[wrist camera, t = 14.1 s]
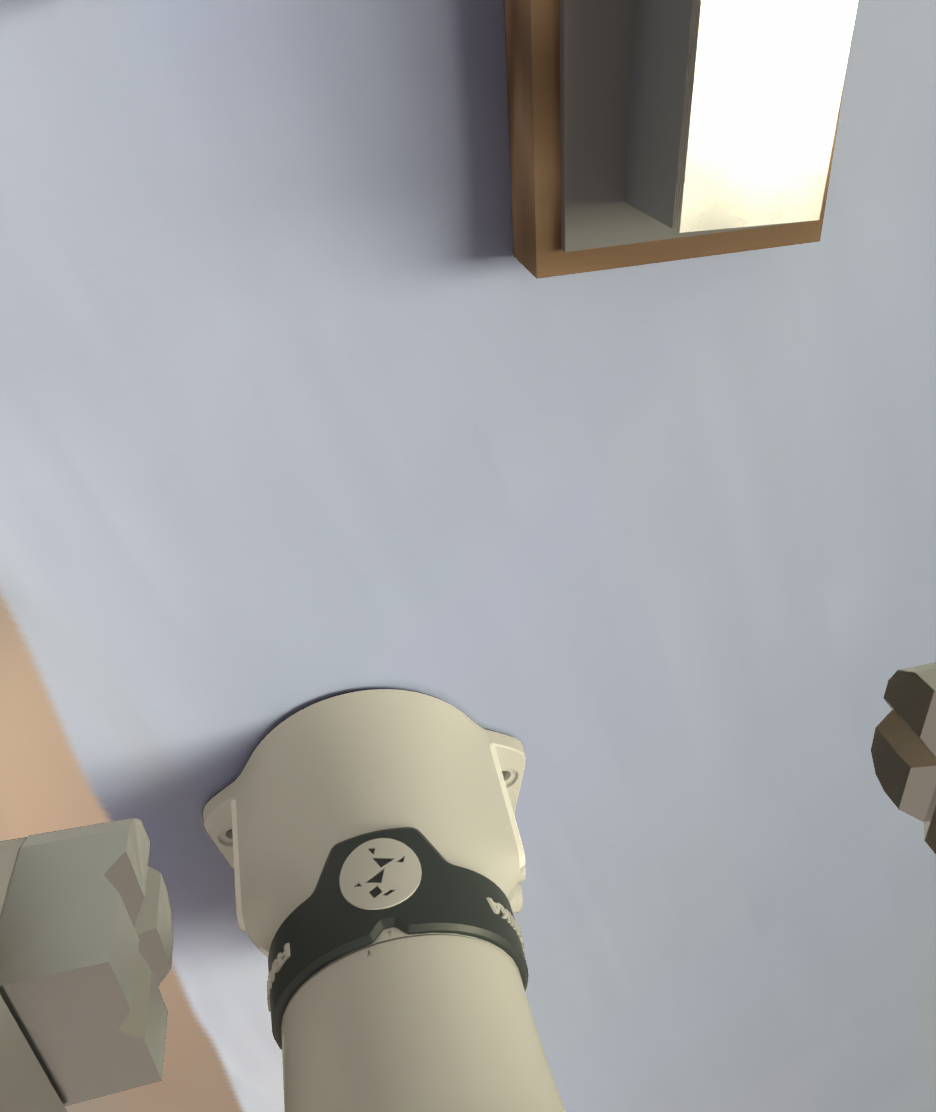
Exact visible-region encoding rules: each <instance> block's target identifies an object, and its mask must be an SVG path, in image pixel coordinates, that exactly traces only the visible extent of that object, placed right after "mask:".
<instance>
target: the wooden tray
mask: <svg viewBox="0 0 936 1112" xmlns="http://www.w3.org/2000/svg"><path fill="white" fill-rule="evenodd" d="M636 6H637V0H505V27H506V55H507V83H508V111H509V139H510V167H511V195H512V222H513V250H514V257H515V258H516V259H517V260H518V261H519V262H520V263H521V264H522V265H523V266H525V267H526V268H527V269H528V270H529V271H530V272H531V273H532V274H533V275H534V276H535V277H536V278H544V277H552V276H559V275H567V274H575V273H582V272H590V271H597V270H605V269H613V268H620V267H628V266H635V265H643V264H651V263H658V262H666V261H673V260H681V259H689V258H696V257H704V256H711V255H719V254H726V253H734V252H742V251H749V250H757V249H764V248H772V247H780V246H787V245H795V244H802V243H810V242H818V241H820V237H821V230H822V224H823V217H824V211H825V204H826V198H827V191H828V184H829V178H830V171H831V165H832V158H833V151H834V145H835V138H836V132H837V125H838V119H839V112H840V105H841V100H840V105H839V111H838V116H837V122H836V128H835V133H834V139H833V145H832V150H831V156H830V162H829V167H828V173H827V178H826V184H825V190H824V195H823V201H822V207H821V212H820V218H819V220H815V221H804V222H793V223H782V224H771V225H760V226H749V227H738V228H727V229H716V230H706V231H695V232H684V233H679V232H677V231H675V230H674V229H672V228H670V227H668V226H666V225H665V224H663V223H661V222H659V221H657V220H656V219H654V218H652V217H650V216H648V215H647V214H645V213H643V212H641V211H639V210H638V209H636V208H634V207H632V206H631V205H629V204H627V203H625V188H626V171H627V155H628V138H629V122H630V105H631V89H632V72H633V56H634V39H635V23H636ZM845 73H846V71H845ZM844 79H845V77H844ZM843 86H844V83H843ZM842 92H843V88H842ZM841 99H842V94H841Z"/></svg>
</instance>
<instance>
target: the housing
mask: <svg viewBox="0 0 936 1112" xmlns="http://www.w3.org/2000/svg"><path fill="white" fill-rule="evenodd" d="M857 4H858V0H637V6H636V23H635V39H634V56H633V72H632V89H631V105H630V122H629V138H628V155H627V171H626V188H625V203H627V204H629V205H631V206H632V207H634V208H636V209H638V210H639V211H641V212H643V213H645V214H647V215H648V216H650V217H652V218H654V219H656V220H657V221H659V222H661V223H663V224H665V225H666V226H668V227H670V228H672V229H674V230H675V231H677V232H679V233H684V232H695V231H706V230H716V229H727V228H738V227H749V226H760V225H771V224H782V223H793V222H804V221H815V220H819V218H820V212H821V207H822V201H823V195H824V190H825V184H826V178H827V173H828V167H829V162H830V156H831V150H832V145H833V139H834V133H835V128H836V122H837V116H838V111H839V105H840V100H841V94H842V88H843V83H844V77H845V71H846V66H847V60H848V55H849V49H850V43H851V38H852V32H853V26H854V21H855V15H856V9H857Z"/></svg>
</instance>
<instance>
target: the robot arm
mask: <svg viewBox="0 0 936 1112" xmlns="http://www.w3.org/2000/svg"><path fill="white" fill-rule="evenodd" d="M884 699H885V701H886V702H887V704H888V705H889V707H890V708H891V710H892V711H891V712H890V713H889V714H888V715H887V716H886V717H885V718H884V719H883V720H882V722H881V723H880V724H879V725H878V726H877V727H876V729H875V733H874V738H873V743H872V748H871V753H872V758H873V763H874V768H875V773H876V775H877V777H878V779H879V781H880V783H881V785H882V787H883V789H884V791H885V793H886V794H887V795H888V796H889V798H890V799H891V800H892V801H893V803H894V804H895V805H896V806H897V808H898V809H899V810H901V811H903V812H905V813H907V814H909V815H911V816H913V817H915V818H917V819H919V820H921V821H923V822H924V838H925V842H926V843H927V844H928V845H929V847H930V848H931V849H932V850H933V851H934V853H935V854H936V662H935V663H930V664H925V665H921V666H916V667H911V668H906V669H901V670H898V671H897V672H896V673H895V674H894V675H893V676H892V677H891V678H890V679H889V680H888V684H887V687H886V691H885V695H884ZM525 763H526V758H525V753H524V749H523V745H522V743H521V742H520V741H519V740H517V739H515V738H513V737H511V736H508V735H505V734H501V733H497V732H494V731H490V730H485V729H483V728H482V727H480V726H478V725H477V724H475V723H474V722H473V721H472V720H471V719H469V718H468V717H467V716H466V715H465V714H463V713H462V712H461V711H459V710H458V709H457V708H455V707H453V706H452V705H450V704H448V703H446V702H444V701H442V700H440V699H437V698H435V697H432V696H429V695H425V694H421V693H417V692H412V691H406V690H395V689H375V690H364V691H357V692H351V693H346V694H342V695H338V696H335V697H331V698H328V699H325V700H322V701H320V702H317V703H315V704H313V705H310V706H308V707H306V708H304V709H302V710H300V711H299V712H297V713H295V714H293V715H292V716H290V717H289V718H287V719H286V720H284V721H283V722H282V723H280V724H279V725H278V726H277V727H275V728H274V729H273V730H272V731H271V732H270V733H269V734H268V735H267V736H266V737H265V738H264V739H263V740H262V741H261V742H260V744H259V745H258V746H257V747H256V749H255V750H254V752H253V753H252V755H251V757H250V758H249V760H248V762H247V764H246V766H245V767H244V769H243V771H242V772H241V774H240V775H239V777H238V778H237V779H236V780H235V781H234V782H233V783H231V784H230V785H228V786H227V787H226V788H224V789H223V790H222V791H220V792H219V793H218V794H217V795H215V796H214V797H213V798H212V799H211V800H210V801H209V802H208V803H207V804H206V805H205V807H204V809H203V820H204V827H205V830H206V831H207V833H208V834H209V836H210V837H211V839H212V840H213V841H214V843H215V844H216V846H217V847H218V849H219V850H220V851H221V853H222V854H223V856H224V857H225V858H226V860H227V861H228V863H229V864H230V866H231V867H232V868H233V870H234V877H235V897H236V914H237V921H238V925H239V928H240V930H243V931H247V933H248V935H249V937H250V939H251V940H252V942H253V943H254V944H255V945H256V946H257V948H258V949H260V950H261V951H262V952H263V953H264V954H265V955H266V956H267V957H268V969H269V975H268V981H267V1000H268V1009H269V1011H271V1021H272V1032H273V1036H274V1039H275V1040H276V1042H277V1044H278V1046H279V1047H280V1049H281V1050H282V1057H283V1082H284V1106H285V1112H566V1110H565V1107H564V1105H563V1102H562V1100H561V1097H560V1094H559V1092H558V1089H557V1087H556V1084H555V1081H554V1079H553V1076H552V1073H551V1070H550V1068H549V1065H548V1062H547V1059H546V1057H545V1054H544V1051H543V1048H542V1045H541V1042H540V1038H539V1035H538V1032H537V1029H536V1026H535V1023H534V1020H533V1017H532V1013H531V1010H530V1007H529V1003H528V1000H527V997H526V993H525V991H526V987H527V982H528V969H527V964H526V960H525V954H524V951H525V948H524V944H523V940H522V936H521V932H520V929H519V926H518V924H517V922H516V921H515V919H514V916H513V913H518V912H519V911H521V909H522V889H521V884H520V882H523V881H524V880H525V866H524V865H525V854H524V849H523V845H522V842H521V838H520V834H519V831H518V827H517V824H516V820H515V816H514V813H515V809H516V804H517V800H518V795H519V791H520V786H521V782H522V777H523V772H524V768H525ZM502 771H503V772H502ZM149 850H150V841H149V838H148V836H147V833H146V831H145V828H144V826H143V823H142V821H141V820H140V819H136V818H130V819H124V820H119V821H113V822H107V823H101V824H95V825H89V826H83V827H77V828H72V829H65V830H60V831H53V832H47V833H42V834H36V835H30V836H28V837H25V838H18V839H12V840H6V841H0V1112H67V1111H66V1108H65V1107H64V1106H68V1105H72V1104H75V1103H79V1102H83V1101H87V1100H91V1099H94V1098H98V1097H102V1096H106V1095H109V1094H113V1093H117V1092H121V1091H124V1090H128V1089H132V1088H136V1087H139V1086H143V1085H147V1084H151V1083H154V1082H158V1081H162V1074H163V1062H164V1051H165V1039H166V1026H167V1015H168V1011H167V1008H166V1006H165V1003H164V1001H163V998H162V996H161V993H160V990H159V988H158V986H159V985H160V983H161V982H162V980H163V979H164V978H165V976H166V975H167V974H168V972H169V971H170V970H171V965H172V949H173V933H172V916H171V907H170V902H169V897H168V893H167V888H166V885H165V882H164V880H163V877H162V874H161V872H159V871H157V870H155V869H154V868H152V867H150V866H148V859H149Z"/></svg>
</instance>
